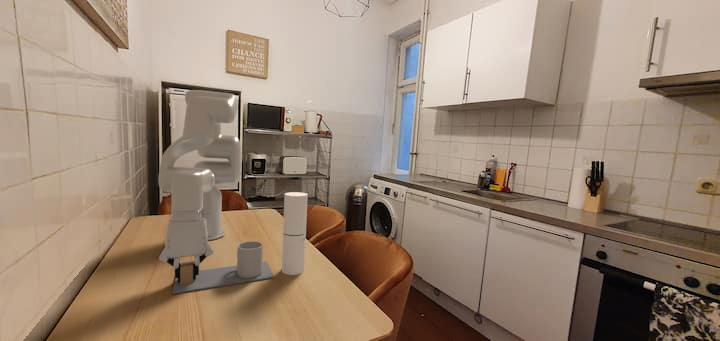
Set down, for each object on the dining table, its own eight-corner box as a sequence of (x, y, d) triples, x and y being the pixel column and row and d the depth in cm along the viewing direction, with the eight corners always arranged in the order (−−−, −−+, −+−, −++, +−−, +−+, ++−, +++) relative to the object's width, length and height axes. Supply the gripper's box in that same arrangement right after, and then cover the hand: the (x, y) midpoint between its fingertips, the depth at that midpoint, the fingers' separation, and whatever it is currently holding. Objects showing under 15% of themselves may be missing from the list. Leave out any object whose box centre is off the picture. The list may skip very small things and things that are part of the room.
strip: (176, 274, 86) (176, 257, 85) (266, 262, 98) (267, 247, 98) (172, 294, 75) (172, 274, 75) (274, 277, 88) (274, 260, 87)
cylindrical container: (277, 269, 94) (280, 193, 91) (295, 263, 99) (298, 191, 97) (289, 277, 89) (293, 197, 87) (308, 270, 94) (312, 194, 92)
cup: (245, 281, 84) (246, 251, 83) (227, 270, 90) (227, 242, 89) (266, 273, 89) (267, 245, 89) (248, 263, 95) (249, 237, 95)
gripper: (219, 210, 87) (218, 269, 89) (153, 213, 80) (153, 278, 81) (220, 216, 81) (219, 279, 82) (149, 221, 73) (149, 290, 75)
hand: (187, 278), depth 82 cm, fingers closed on strip, 3 cm apart
